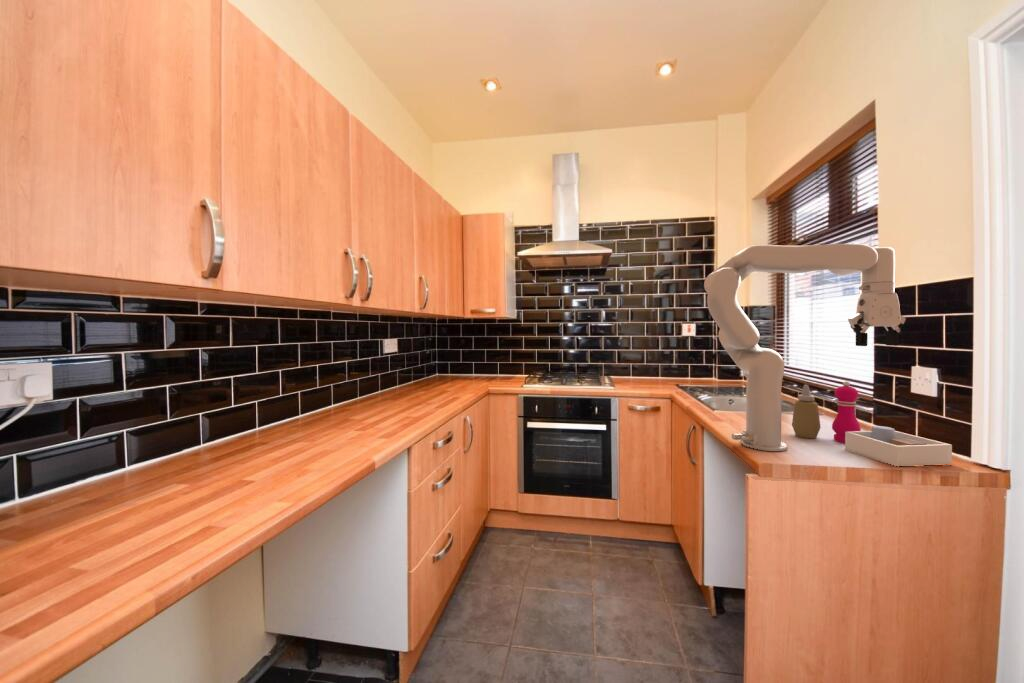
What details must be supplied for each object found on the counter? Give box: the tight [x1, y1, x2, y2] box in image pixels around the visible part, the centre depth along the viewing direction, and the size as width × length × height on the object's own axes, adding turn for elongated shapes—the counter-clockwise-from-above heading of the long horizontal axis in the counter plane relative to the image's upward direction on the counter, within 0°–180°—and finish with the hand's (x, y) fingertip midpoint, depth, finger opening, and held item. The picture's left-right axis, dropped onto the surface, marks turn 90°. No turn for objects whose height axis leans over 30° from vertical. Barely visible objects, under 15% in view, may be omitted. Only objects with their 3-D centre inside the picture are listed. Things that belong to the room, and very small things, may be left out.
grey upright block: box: [871, 425, 896, 444], centre depth 117 cm, size 5×5×7 cm
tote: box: [844, 430, 953, 468], centre depth 113 cm, size 16×16×6 cm
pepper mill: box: [831, 380, 862, 444], centre depth 129 cm, size 7×7×20 cm
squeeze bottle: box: [791, 384, 822, 439], centre depth 136 cm, size 8×8×18 cm
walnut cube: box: [891, 439, 927, 446], centre depth 110 cm, size 5×5×5 cm
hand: (876, 345), depth 119 cm, fingers open, 9 cm apart
